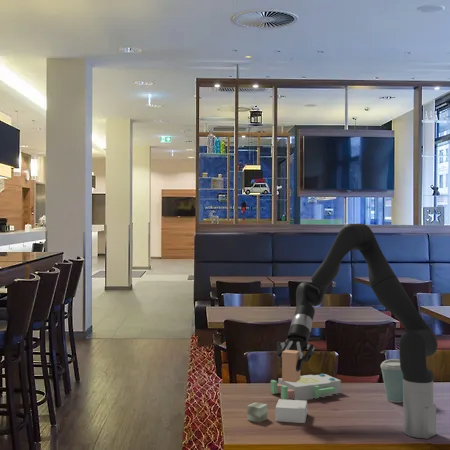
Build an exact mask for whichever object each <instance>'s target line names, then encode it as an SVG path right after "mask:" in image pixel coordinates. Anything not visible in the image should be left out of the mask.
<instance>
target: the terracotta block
mask: <svg viewBox="0 0 450 450" xmlns="http://www.w3.org/2000/svg"><path fill="white" fill-rule="evenodd" d="M284 350H285V349H284ZM284 350H282V370H281V378H282V381H287V382H295V383H296V382H297V381H299V380H300V376H301V370H299V372H298V371H296V365H297V361H298V359H299V351H298V350H285V351H284Z"/></svg>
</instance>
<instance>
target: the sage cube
mask: <svg viewBox="0 0 450 450" xmlns="http://www.w3.org/2000/svg"><path fill="white" fill-rule="evenodd" d="M246 408H247V409H246V410H247V412H246V413H247V416H246V418H247V421H249V422H255V423H263V422H264V421H266V420H268V404H267V403H261V402H256V401H255V402H253V403H251V404H248V405H247V407H246Z"/></svg>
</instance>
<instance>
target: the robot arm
mask: <svg viewBox="0 0 450 450" xmlns="http://www.w3.org/2000/svg"><path fill="white" fill-rule="evenodd" d="M356 250H358V251H359V252H360V253H361V255H362V257H363V258H364V260H365V263H366V264H367V270H368V271H367V273H368V282H369V286H370V288H371V290H372V292H373V293H374V295H375V296H376V298H377V300H378V302H379V303H380V305H382V306H383V307H384V308H385V309H386V310H387V311H388V312H389V313H390V314H392V315H393V316H394V317H395V318H396V319H397V320H398V321H399V322H400V323H401V326H403V328H404V330H405V331H403V333H402V334H401V336H400V338H399V344H398V347H399V348H398V350H399V351H398V352H399V359H400V367H401V371H402V373H403V402H402V409H403V411H402V412H403V413H402V415H403V416H402V419H403V421H402V423H403V425H402V426H403V433H404V434H405V435H407V436H408V437H412V438H418V439H426V440H428V439H430V438H432V437H434V436H436V435H437V404H436V403H434V373H433V370H431V369H429V368H428V367H427V357H428V358H429V357H431V356H432V355H434V354H435V353H436V352H437V351H438V350H437V349H438V346H439V345H438V340H437V339H438V338H436V335H435V333H434V332H433V330H432V329H431V328H430V326H429V325H428V324H427V323H426V321H425V320H424V319H423V317H422V316H421V314H420V313H419V311H418V310H417V309H416V307H415V305H414V302H413V301H412V300H411V298H410V297H409V295H408V293H407V292H406V290H405V288H404V287H403V285H402V283H401V281H400V280H399V278H398V276H397V275H396V274H395V272H394V271H393V269H392V267H391V264H389V261H388V260H387V259H386V257H385V255H384V253H383V251H382V249H381V247H380V245H379V243H378V241H377V238H376V236H375V234H374V232H373V231H372V229H371V228H370V227H369V225H367V224H366V223H348V224H345V225H343V226H342V227H341V228H340V230H339V232H338V233H337V236H336V237H335V240H334V241H333V244H332V245H331V247H330V249H329V251H328V252H327V254H326V256H325V258H324V260H323V261H322V262H321V264H320V265H319V266H318V268H317V269H316V270H315V272H314V273H313V274H312V276H311V283H312V284H311V283H309V282H305V281H304V282H301V283H300V284H298V286H297V287H296V291H295V301H296V303H295V305H296V308H295V312H294V315H293V318H292V320H291V323H290V326H289V329H288V333H287V338H286V340H285V341H284V342H281V341H279V340H278V341H277V342H276V344H277V345H276V355H277V358H278V359H279V360H280V361H279V367H280V369H281V371H282V352H283V351H285V350H298V351H299V359H298V361H297V365H296V371H298V372H299V370H300V371H301V370H302V367H303V363H304V362H307V363H308V362H309V361H310V359H311V358H312V356H313V355H314V353H315V351H316V348H315V346H314V344H313V343H311V344H308V342H309V340H310V339H309V338H310V336H311V332H312V327H313V321H314V316H315V312H316V311H315V310H316V308H314V307H318V306H320V305H321V303H322V302H323V300H324V297H325V295H326V291H327V290H328V288H329V287H330V285H331V284H332V283H333V281H334V280H335V278H336V277H337V275H338V273H339V271H340V267H341V264H342V263H341V262H342V261H343V259H344V257H346V255H347V254H349V253H350V252H351V251H356ZM284 348H285V349H284ZM305 350H306V352H305V354H304V353H303V352H304V351H305Z"/></svg>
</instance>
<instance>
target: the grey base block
mask: <svg viewBox="0 0 450 450" xmlns="http://www.w3.org/2000/svg"><path fill="white" fill-rule="evenodd" d="M274 408H275V410H274V411H275V413H274V414H275V422H286V423H296V424H297V423H298V424H299V423H300V424H305V423H306V420H307V416H308V400H293V399H283V398H279V399H278V401H277V403H276V406H275V407H274Z"/></svg>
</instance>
